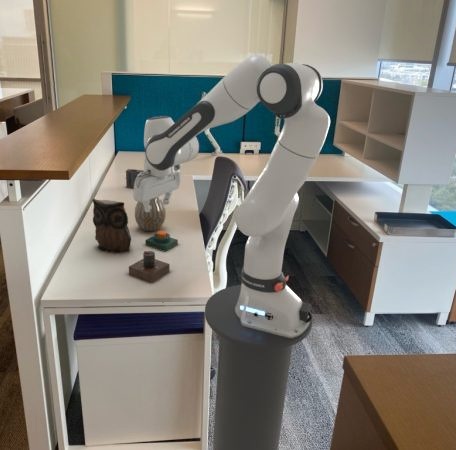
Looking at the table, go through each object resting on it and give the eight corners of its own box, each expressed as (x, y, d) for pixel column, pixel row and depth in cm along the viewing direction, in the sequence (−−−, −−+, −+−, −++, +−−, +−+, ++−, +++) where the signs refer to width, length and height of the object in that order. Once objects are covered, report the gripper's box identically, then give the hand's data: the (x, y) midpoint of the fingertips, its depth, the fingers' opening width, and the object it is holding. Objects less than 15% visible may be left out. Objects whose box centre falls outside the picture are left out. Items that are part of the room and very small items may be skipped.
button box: (177, 244, 178) (177, 235, 177) (165, 251, 172) (165, 242, 170) (158, 238, 183) (158, 229, 181) (145, 244, 177) (145, 235, 175)
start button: (168, 236, 177) (168, 232, 176) (162, 239, 174) (162, 235, 173) (160, 234, 178) (160, 229, 178) (155, 236, 176) (155, 232, 175)
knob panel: (169, 271, 157) (169, 263, 156) (151, 282, 149) (151, 274, 148) (147, 263, 162) (147, 255, 161) (128, 274, 154) (128, 266, 153)
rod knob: (157, 264, 155) (157, 252, 153) (150, 268, 152) (149, 256, 150) (148, 261, 157) (148, 249, 155) (141, 265, 154) (140, 253, 152)
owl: (132, 252, 170) (131, 202, 163) (99, 257, 165) (96, 206, 158) (123, 239, 181) (122, 192, 173) (92, 243, 176) (89, 195, 168)
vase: (158, 236, 185) (158, 196, 178) (129, 232, 188) (128, 192, 181) (170, 225, 196) (170, 187, 190) (142, 221, 200) (142, 183, 193)
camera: (124, 187, 244) (124, 170, 240) (127, 185, 248) (126, 168, 244) (153, 190, 241) (152, 172, 237) (155, 188, 245) (155, 171, 241)
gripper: (144, 176, 132) (144, 219, 138) (184, 163, 148) (182, 202, 154) (128, 172, 135) (128, 214, 141) (169, 159, 151) (168, 197, 157)
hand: (157, 207), depth 147 cm, fingers open, 8 cm apart
